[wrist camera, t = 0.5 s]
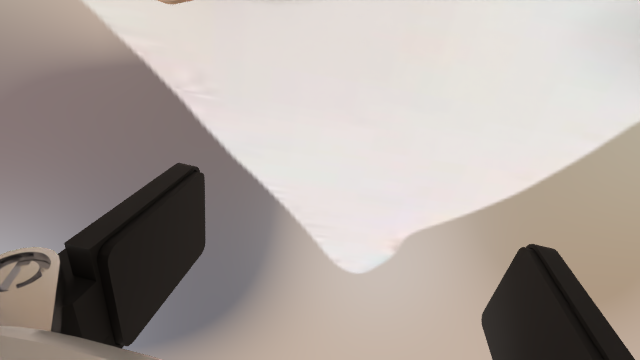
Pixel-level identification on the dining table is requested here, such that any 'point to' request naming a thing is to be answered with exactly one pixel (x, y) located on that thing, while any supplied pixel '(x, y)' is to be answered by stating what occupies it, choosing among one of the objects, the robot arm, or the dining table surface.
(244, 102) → the dining table surface
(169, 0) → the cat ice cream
